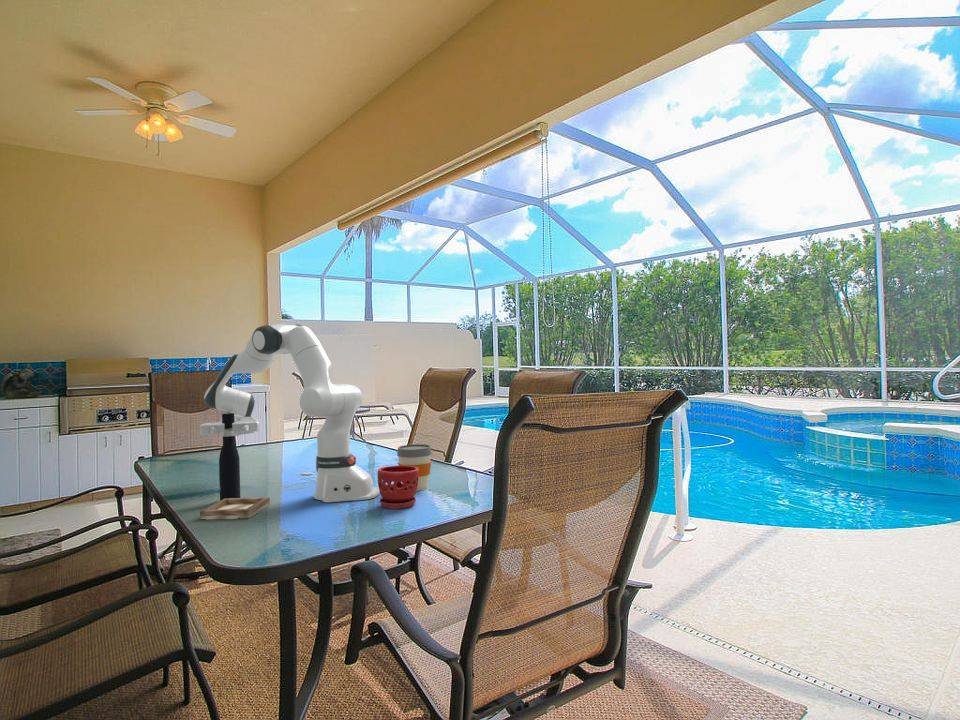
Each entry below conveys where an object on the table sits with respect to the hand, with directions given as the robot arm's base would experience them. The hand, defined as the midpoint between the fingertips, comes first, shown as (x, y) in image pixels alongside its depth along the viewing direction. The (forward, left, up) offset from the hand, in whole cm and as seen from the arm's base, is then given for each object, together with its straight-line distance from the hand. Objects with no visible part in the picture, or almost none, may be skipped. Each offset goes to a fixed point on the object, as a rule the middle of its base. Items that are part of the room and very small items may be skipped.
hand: (229, 429), depth 191 cm
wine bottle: (-5, +11, -23) cm, 26 cm away
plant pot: (-65, +21, -23) cm, 72 cm away
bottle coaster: (-14, +25, -23) cm, 37 cm away
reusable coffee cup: (-67, -2, -23) cm, 71 cm away
